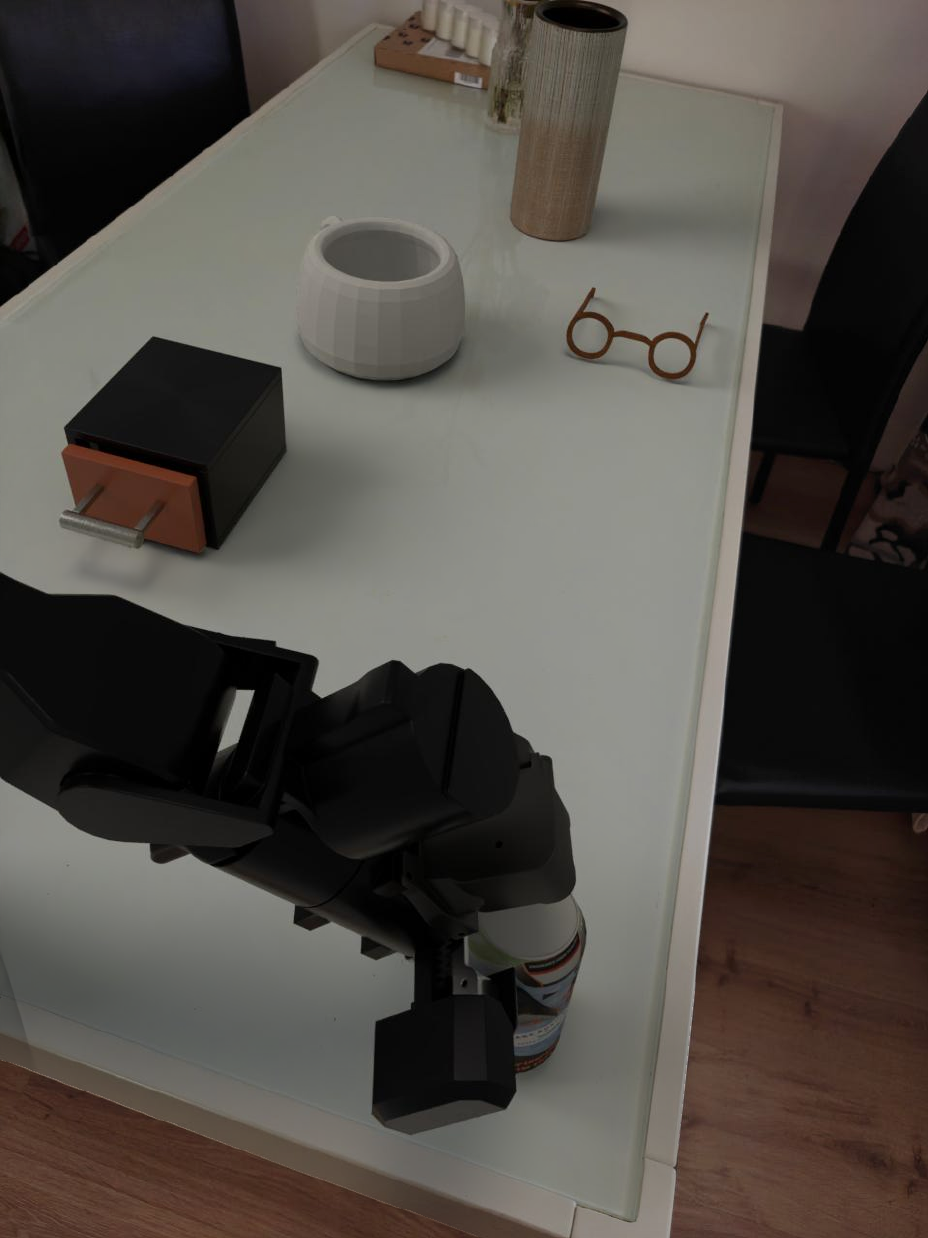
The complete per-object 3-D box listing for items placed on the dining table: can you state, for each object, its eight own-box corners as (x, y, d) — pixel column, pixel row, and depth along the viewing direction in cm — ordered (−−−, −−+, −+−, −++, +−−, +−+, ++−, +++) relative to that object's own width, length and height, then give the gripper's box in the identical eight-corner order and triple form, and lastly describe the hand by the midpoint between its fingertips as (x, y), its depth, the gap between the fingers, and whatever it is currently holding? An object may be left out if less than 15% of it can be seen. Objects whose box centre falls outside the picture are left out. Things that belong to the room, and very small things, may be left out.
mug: (493, 366, 99) (504, 273, 92) (342, 407, 93) (341, 311, 85) (392, 266, 111) (395, 176, 104) (252, 296, 104) (244, 203, 97)
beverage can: (479, 1102, 52) (513, 1030, 43) (421, 975, 56) (441, 883, 47) (580, 1050, 55) (633, 971, 45) (517, 931, 58) (554, 836, 49)
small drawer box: (218, 550, 79) (206, 464, 72) (85, 513, 80) (63, 427, 74) (287, 450, 88) (281, 367, 81) (166, 419, 89) (152, 335, 83)
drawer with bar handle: (171, 595, 74) (157, 527, 69) (45, 559, 75) (23, 490, 70) (266, 459, 85) (261, 393, 80) (156, 430, 87) (144, 363, 82)
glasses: (561, 355, 102) (569, 311, 98) (590, 295, 110) (598, 253, 106) (687, 387, 100) (700, 343, 96) (706, 323, 108) (719, 281, 104)
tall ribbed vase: (585, 206, 125) (621, 2, 108) (595, 244, 118) (635, 33, 102) (507, 200, 124) (531, -6, 108) (511, 238, 118) (538, 25, 101)
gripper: (485, 1016, 32) (721, 1120, 41) (469, 594, 44) (653, 746, 53) (251, 1093, 37) (507, 1170, 46) (297, 695, 49) (491, 818, 59)
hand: (545, 956), depth 51 cm, fingers closed on beverage can, 6 cm apart
